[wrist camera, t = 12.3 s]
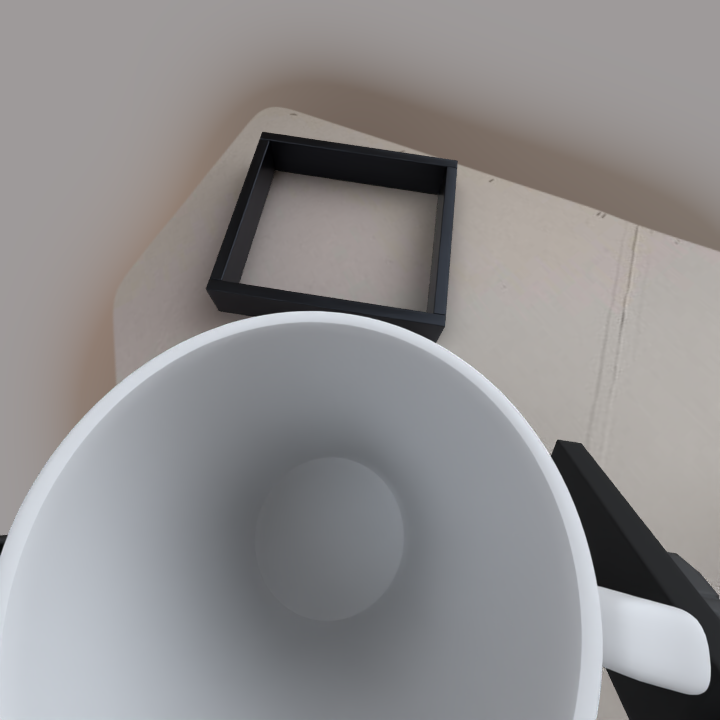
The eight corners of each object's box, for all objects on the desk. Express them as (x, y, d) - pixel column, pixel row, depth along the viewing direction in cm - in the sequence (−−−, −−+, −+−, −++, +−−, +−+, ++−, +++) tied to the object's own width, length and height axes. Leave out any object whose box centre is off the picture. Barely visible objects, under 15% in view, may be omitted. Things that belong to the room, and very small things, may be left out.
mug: (219, 605, 14) (-200, 907, 3) (275, 431, 17) (147, 266, 6) (486, 676, 14) (1063, 1313, 3) (502, 486, 16) (836, 422, 5)
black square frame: (218, 311, 34) (205, 288, 30) (268, 162, 40) (262, 131, 37) (435, 345, 33) (445, 326, 30) (448, 189, 40) (457, 160, 37)
